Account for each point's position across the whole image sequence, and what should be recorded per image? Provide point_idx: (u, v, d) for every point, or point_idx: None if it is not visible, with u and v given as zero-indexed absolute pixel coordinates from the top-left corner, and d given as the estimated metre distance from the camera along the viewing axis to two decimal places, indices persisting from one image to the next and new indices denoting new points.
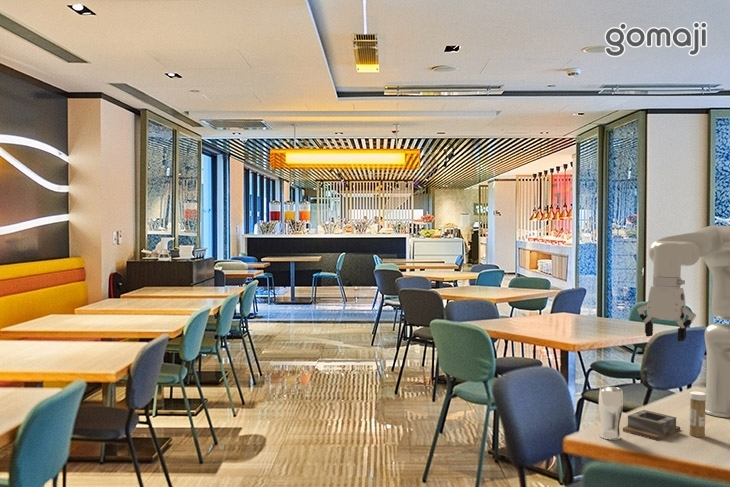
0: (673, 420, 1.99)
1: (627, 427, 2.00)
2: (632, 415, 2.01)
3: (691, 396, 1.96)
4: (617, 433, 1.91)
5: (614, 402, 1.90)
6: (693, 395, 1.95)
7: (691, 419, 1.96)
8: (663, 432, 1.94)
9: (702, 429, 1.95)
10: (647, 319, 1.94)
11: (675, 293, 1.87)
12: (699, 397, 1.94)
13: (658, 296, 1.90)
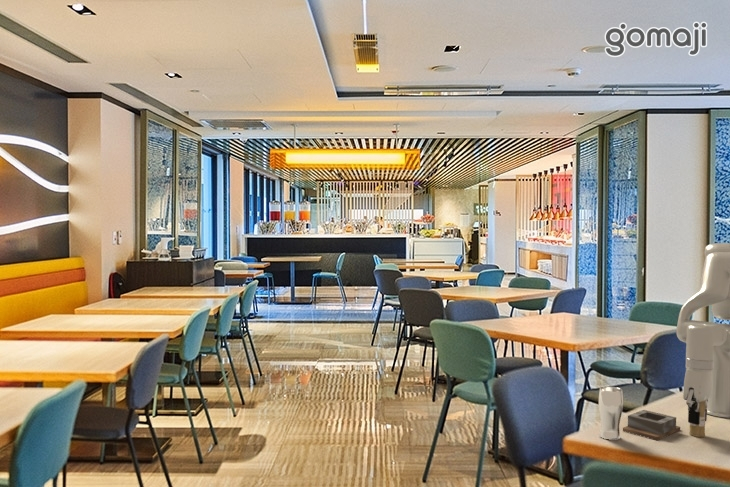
0: (673, 420, 1.99)
1: (627, 427, 2.00)
2: (632, 415, 2.01)
3: None
4: (617, 433, 1.91)
5: (614, 402, 1.90)
6: None
7: None
8: (663, 432, 1.94)
9: (702, 429, 1.95)
10: (698, 407, 1.94)
11: (710, 373, 1.97)
12: None
13: (705, 380, 1.93)
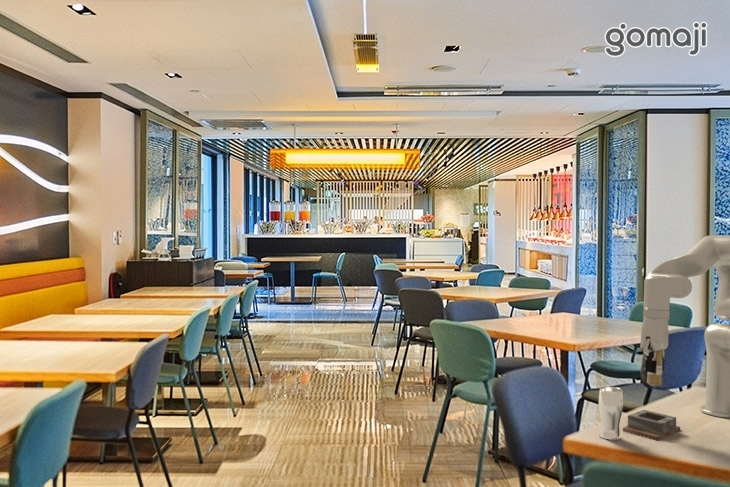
0: (673, 420, 1.99)
1: (627, 427, 2.00)
2: (632, 415, 2.01)
3: None
4: (617, 433, 1.91)
5: (614, 402, 1.90)
6: None
7: None
8: (663, 432, 1.94)
9: (659, 378, 1.98)
10: (655, 356, 1.97)
11: (667, 323, 2.00)
12: None
13: (661, 329, 1.97)
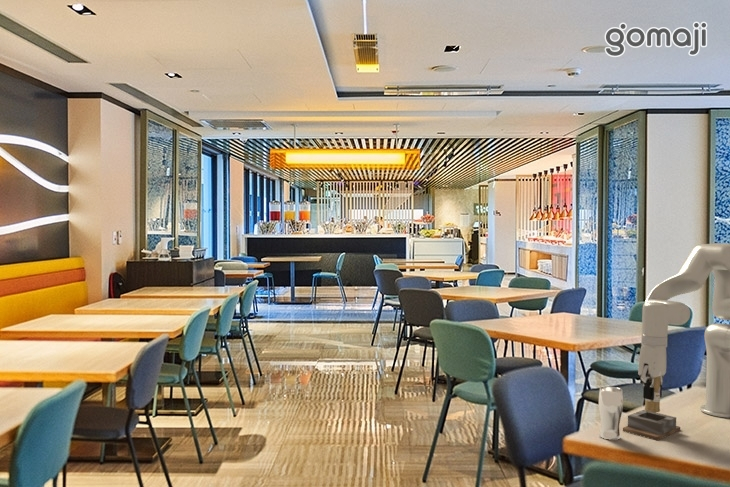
0: (673, 420, 1.99)
1: (627, 427, 2.00)
2: (632, 415, 2.01)
3: None
4: (617, 433, 1.91)
5: (614, 402, 1.90)
6: None
7: None
8: (663, 432, 1.94)
9: (657, 404, 1.98)
10: (653, 383, 1.97)
11: (665, 349, 2.01)
12: None
13: (659, 356, 1.97)
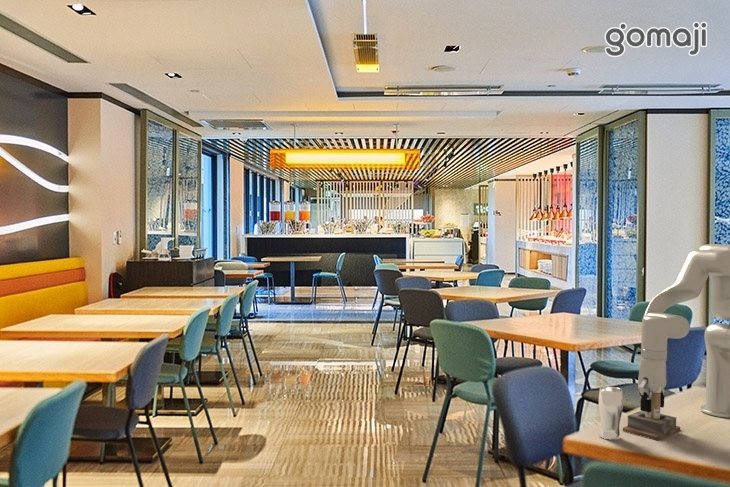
0: (673, 420, 1.99)
1: (627, 427, 2.00)
2: (632, 415, 2.01)
3: (647, 388, 2.00)
4: (617, 433, 1.91)
5: (614, 402, 1.90)
6: None
7: None
8: (663, 432, 1.94)
9: None
10: (650, 395, 1.96)
11: (664, 363, 2.01)
12: None
13: (659, 370, 1.97)
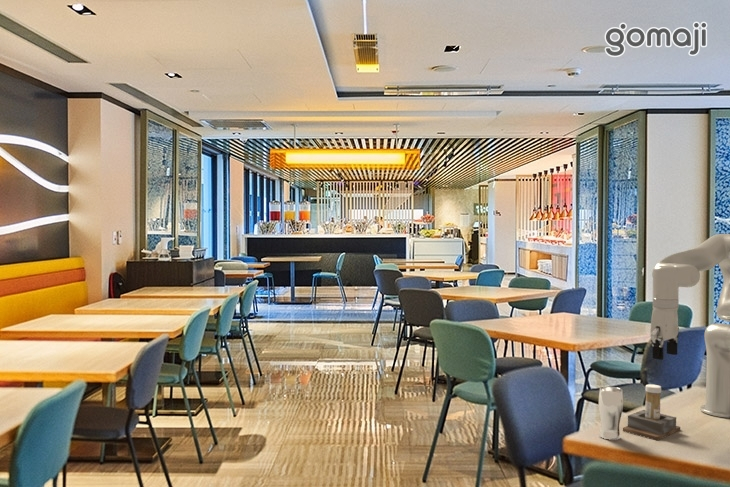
0: (673, 420, 1.99)
1: (627, 427, 2.00)
2: (632, 415, 2.01)
3: (646, 389, 2.00)
4: (617, 433, 1.91)
5: (614, 402, 1.90)
6: (648, 388, 1.99)
7: (646, 411, 2.00)
8: (663, 432, 1.94)
9: None
10: (662, 343, 1.98)
11: (676, 312, 2.02)
12: (654, 390, 1.98)
13: (671, 318, 1.99)
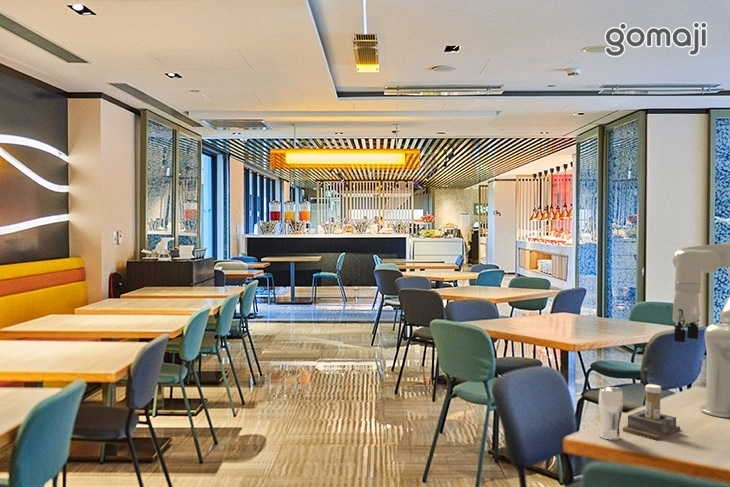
0: (673, 420, 1.99)
1: (627, 427, 2.00)
2: (632, 415, 2.01)
3: (646, 389, 2.00)
4: (617, 433, 1.91)
5: (614, 402, 1.90)
6: (648, 388, 1.99)
7: (646, 411, 2.00)
8: (663, 432, 1.94)
9: None
10: (684, 325, 2.01)
11: (698, 296, 2.06)
12: (654, 390, 1.98)
13: (693, 302, 2.03)
